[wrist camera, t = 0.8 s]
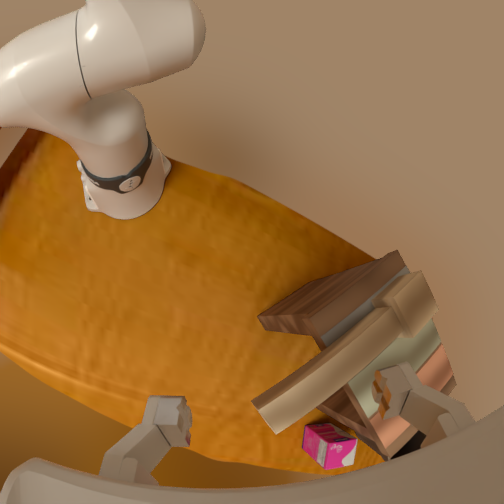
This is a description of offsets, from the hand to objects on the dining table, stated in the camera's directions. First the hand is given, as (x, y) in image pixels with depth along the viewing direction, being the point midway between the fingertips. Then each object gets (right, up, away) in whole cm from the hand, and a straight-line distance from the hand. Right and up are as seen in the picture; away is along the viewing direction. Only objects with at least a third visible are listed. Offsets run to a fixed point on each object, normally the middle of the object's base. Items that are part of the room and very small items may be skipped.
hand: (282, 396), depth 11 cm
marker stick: (+8, -4, +16) cm, 19 cm away
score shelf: (+10, -12, +42) cm, 45 cm away
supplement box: (+12, -31, +38) cm, 51 cm away
